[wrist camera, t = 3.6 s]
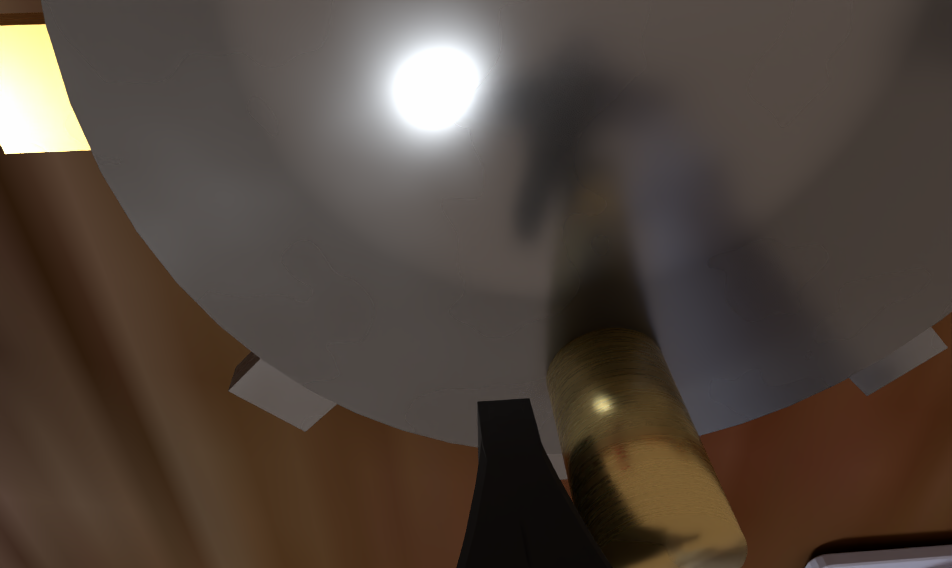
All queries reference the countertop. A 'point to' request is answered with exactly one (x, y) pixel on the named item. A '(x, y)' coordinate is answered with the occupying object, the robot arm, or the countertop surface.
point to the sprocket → (529, 211)
